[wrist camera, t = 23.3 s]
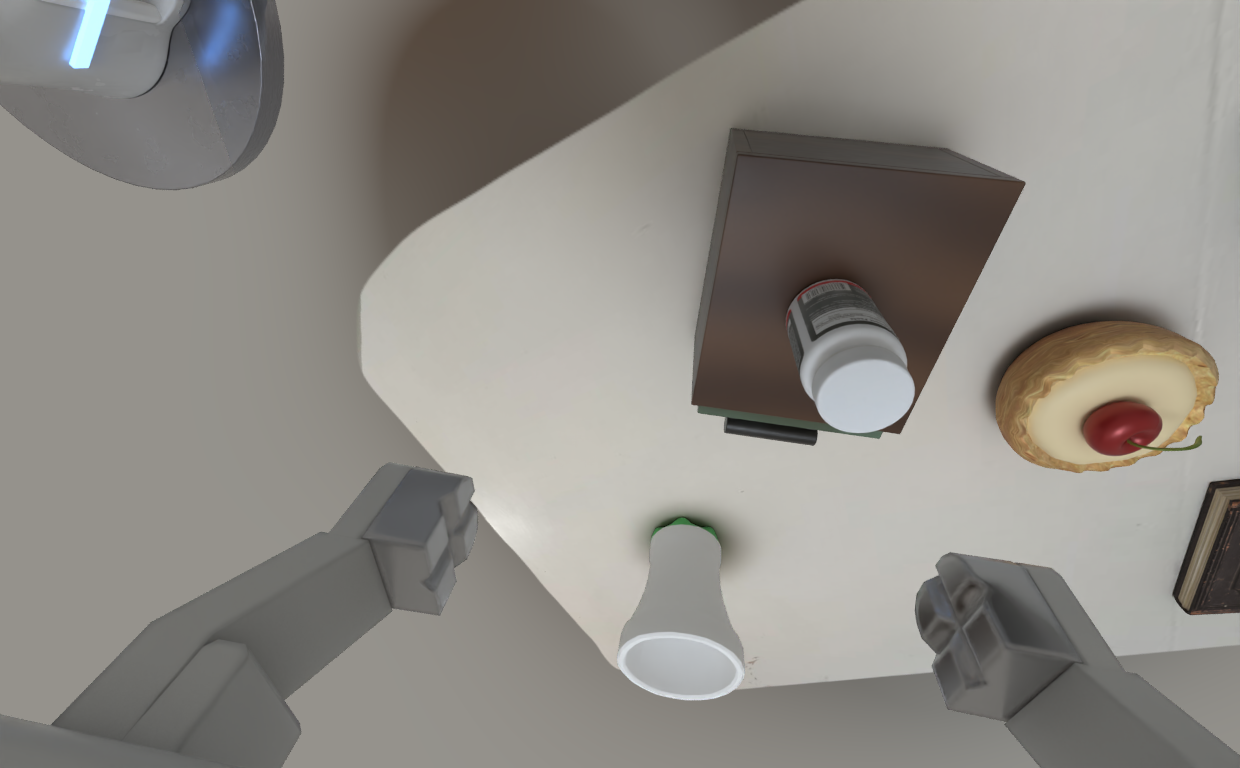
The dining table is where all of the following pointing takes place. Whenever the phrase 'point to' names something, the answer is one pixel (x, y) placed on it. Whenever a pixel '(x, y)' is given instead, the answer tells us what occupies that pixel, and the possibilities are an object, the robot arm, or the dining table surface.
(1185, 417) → the pastry
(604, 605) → the dining table surface
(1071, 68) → the dining table surface
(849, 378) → the pill bottle
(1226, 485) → the hardcover book
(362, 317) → the dining table surface
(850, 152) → the cabinet
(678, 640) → the cup
